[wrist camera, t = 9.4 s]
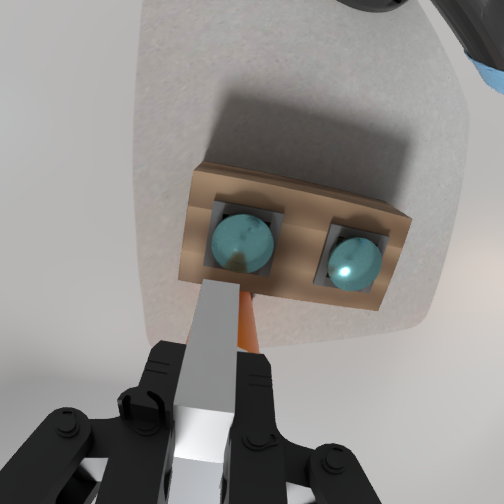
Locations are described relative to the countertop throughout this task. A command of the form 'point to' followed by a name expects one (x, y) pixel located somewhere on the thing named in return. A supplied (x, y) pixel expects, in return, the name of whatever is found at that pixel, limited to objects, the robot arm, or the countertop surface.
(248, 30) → the countertop surface
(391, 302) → the countertop surface
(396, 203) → the countertop surface
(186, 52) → the countertop surface
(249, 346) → the shaker bottle
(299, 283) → the socket block
